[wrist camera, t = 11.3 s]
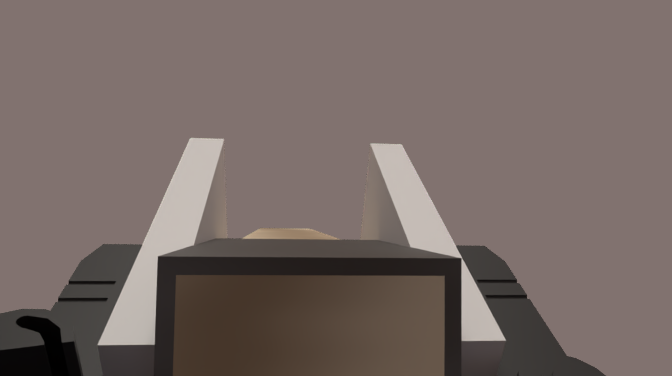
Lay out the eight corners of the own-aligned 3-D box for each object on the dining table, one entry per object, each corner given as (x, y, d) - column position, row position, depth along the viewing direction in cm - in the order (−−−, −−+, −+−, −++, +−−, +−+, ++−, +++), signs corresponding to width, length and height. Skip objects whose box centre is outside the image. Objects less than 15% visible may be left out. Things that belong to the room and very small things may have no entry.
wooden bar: (146, 585, 5) (157, 256, 6) (256, 281, 31) (257, 224, 31) (460, 565, 6) (461, 258, 6) (312, 281, 32) (313, 225, 32)
